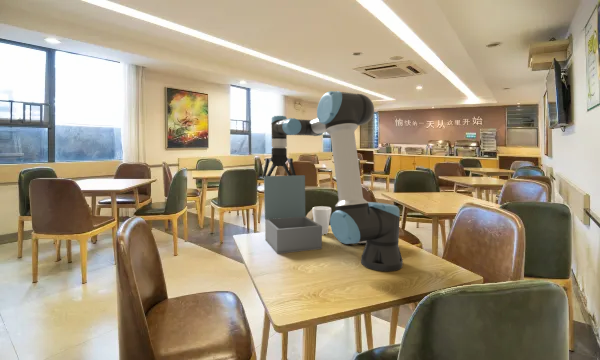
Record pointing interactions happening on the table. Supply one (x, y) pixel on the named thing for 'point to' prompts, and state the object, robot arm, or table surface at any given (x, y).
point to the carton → (293, 234)
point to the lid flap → (284, 196)
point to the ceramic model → (310, 215)
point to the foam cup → (322, 217)
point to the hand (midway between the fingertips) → (279, 191)
